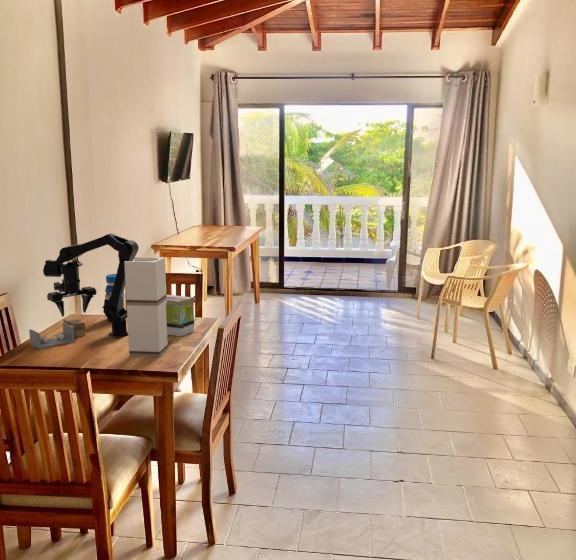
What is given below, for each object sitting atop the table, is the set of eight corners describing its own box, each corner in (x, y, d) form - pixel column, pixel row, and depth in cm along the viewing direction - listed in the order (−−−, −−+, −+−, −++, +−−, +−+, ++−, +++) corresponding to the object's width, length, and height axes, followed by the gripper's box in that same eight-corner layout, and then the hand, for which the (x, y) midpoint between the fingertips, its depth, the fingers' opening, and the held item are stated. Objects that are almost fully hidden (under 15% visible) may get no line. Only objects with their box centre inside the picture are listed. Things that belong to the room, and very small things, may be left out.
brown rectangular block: (85, 335, 257) (84, 322, 256) (76, 337, 254) (75, 324, 253) (73, 330, 265) (72, 317, 263) (64, 332, 262) (63, 319, 261)
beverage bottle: (128, 316, 286) (126, 273, 282) (121, 321, 277) (119, 277, 274) (111, 316, 287) (108, 273, 283) (103, 321, 278) (100, 276, 275)
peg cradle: (65, 337, 254) (64, 322, 253) (75, 341, 248) (74, 326, 246) (29, 344, 244) (28, 329, 243) (39, 349, 238) (38, 334, 237)
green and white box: (195, 331, 262) (194, 296, 259) (180, 337, 253) (179, 301, 250) (166, 327, 269) (164, 293, 266) (151, 332, 260) (149, 297, 257)
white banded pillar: (168, 348, 238) (164, 257, 232) (159, 357, 228) (155, 262, 221) (139, 347, 240) (135, 256, 233) (129, 356, 229) (124, 261, 223)
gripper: (83, 271, 267) (85, 307, 270) (39, 277, 254) (43, 315, 257) (95, 274, 259) (98, 311, 262) (51, 281, 246) (54, 319, 249)
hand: (73, 314), depth 258 cm, fingers open, 9 cm apart
